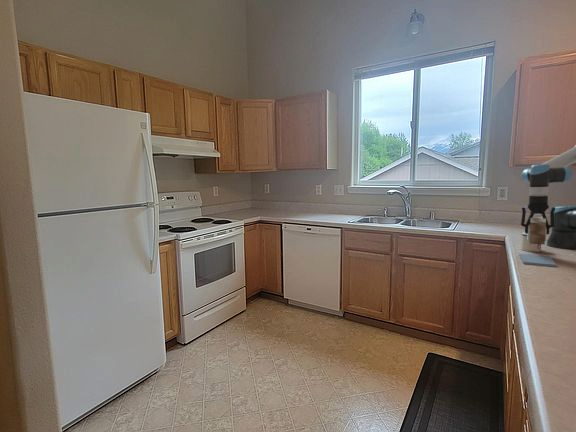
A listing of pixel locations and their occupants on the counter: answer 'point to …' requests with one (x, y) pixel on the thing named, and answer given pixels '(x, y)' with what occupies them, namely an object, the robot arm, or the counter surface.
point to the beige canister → (537, 230)
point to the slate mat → (537, 260)
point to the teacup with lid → (527, 246)
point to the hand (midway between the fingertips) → (536, 240)
